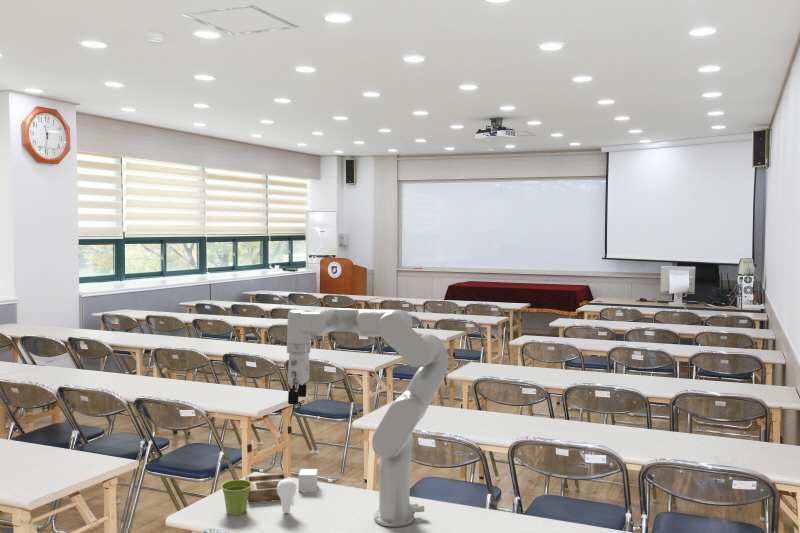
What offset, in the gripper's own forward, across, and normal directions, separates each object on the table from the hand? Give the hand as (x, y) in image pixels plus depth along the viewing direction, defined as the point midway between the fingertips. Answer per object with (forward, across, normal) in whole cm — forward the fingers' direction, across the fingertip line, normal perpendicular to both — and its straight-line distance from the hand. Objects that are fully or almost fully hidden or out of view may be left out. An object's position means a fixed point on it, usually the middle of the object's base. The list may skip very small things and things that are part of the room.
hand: (297, 400), depth 220 cm
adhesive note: (+35, +15, -1) cm, 38 cm away
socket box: (+35, +9, +12) cm, 38 cm away
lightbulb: (+35, -6, +1) cm, 36 cm away
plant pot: (+35, -8, +17) cm, 40 cm away
